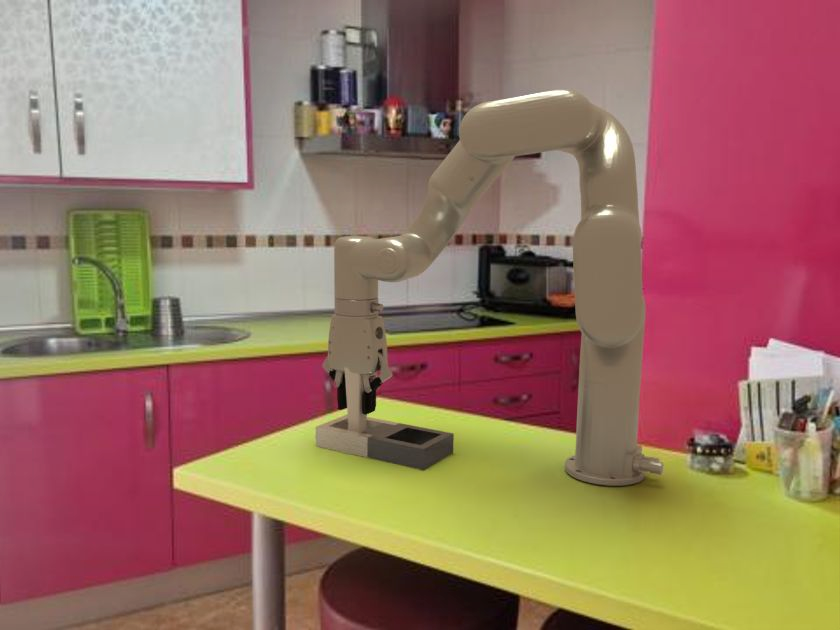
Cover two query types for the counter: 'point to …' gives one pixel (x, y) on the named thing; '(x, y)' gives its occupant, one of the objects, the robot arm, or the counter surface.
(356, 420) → the perfume bottle
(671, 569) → the counter surface
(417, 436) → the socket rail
